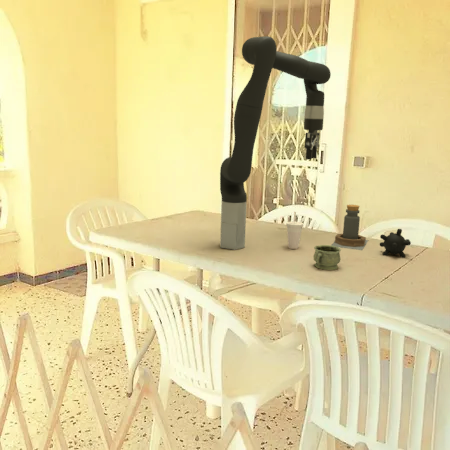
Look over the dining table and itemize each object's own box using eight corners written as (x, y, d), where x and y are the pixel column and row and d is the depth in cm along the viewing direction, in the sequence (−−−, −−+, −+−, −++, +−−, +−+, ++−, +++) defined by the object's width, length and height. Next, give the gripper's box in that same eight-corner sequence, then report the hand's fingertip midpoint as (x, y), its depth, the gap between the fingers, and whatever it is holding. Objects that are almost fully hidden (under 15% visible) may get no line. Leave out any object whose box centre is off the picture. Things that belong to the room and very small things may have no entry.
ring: (362, 248, 180) (362, 241, 179) (333, 244, 184) (333, 238, 183) (366, 241, 189) (366, 235, 189) (338, 238, 194) (339, 232, 193)
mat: (362, 251, 176) (362, 250, 176) (330, 247, 181) (330, 246, 181) (368, 241, 192) (368, 240, 192) (338, 237, 197) (338, 236, 197)
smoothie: (282, 248, 176) (284, 212, 173) (288, 245, 182) (290, 209, 179) (298, 251, 173) (301, 214, 170) (304, 247, 179) (306, 211, 176)
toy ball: (390, 241, 180) (420, 239, 171) (382, 264, 175) (413, 264, 166) (377, 224, 175) (407, 221, 166) (368, 247, 170) (399, 246, 161)
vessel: (324, 260, 163) (325, 242, 162) (347, 265, 158) (348, 247, 156) (304, 267, 155) (306, 248, 153) (328, 273, 149) (330, 254, 148)
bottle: (356, 241, 189) (359, 204, 186) (358, 245, 184) (362, 207, 181) (341, 240, 190) (344, 203, 187) (343, 244, 184) (346, 206, 181)
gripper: (319, 117, 181) (316, 160, 184) (327, 118, 193) (324, 158, 197) (300, 117, 183) (297, 159, 187) (308, 118, 196) (306, 157, 200)
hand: (311, 158), depth 192 cm, fingers open, 8 cm apart
